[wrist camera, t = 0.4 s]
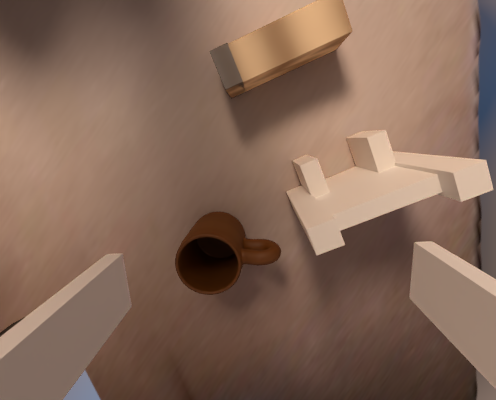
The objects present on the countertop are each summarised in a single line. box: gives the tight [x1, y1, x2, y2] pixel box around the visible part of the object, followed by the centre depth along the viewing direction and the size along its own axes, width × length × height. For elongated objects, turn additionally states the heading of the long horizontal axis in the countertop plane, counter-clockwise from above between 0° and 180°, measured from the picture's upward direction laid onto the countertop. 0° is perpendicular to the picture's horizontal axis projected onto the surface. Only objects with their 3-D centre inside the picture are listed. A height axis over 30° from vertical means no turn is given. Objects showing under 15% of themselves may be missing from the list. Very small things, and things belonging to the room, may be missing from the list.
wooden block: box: [210, 0, 352, 98], centre depth 31 cm, size 14×4×6 cm, turn 113°
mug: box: [175, 212, 281, 295], centre depth 34 cm, size 12×8×9 cm, turn 95°
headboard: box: [286, 130, 493, 255], centre depth 29 cm, size 6×14×16 cm, turn 113°
